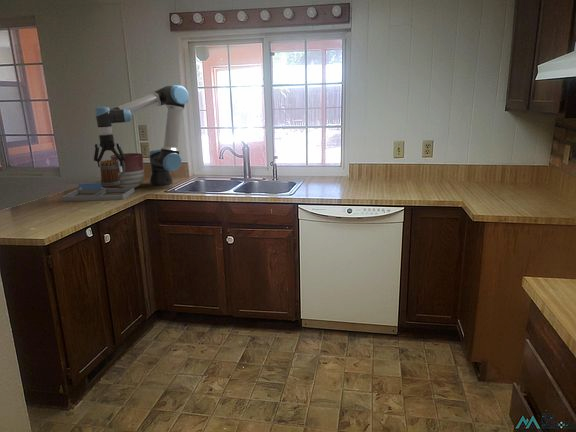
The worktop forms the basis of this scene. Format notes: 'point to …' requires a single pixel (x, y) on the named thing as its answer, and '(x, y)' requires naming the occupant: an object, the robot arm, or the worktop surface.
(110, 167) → the mug
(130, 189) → the grey tray
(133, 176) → the planter
